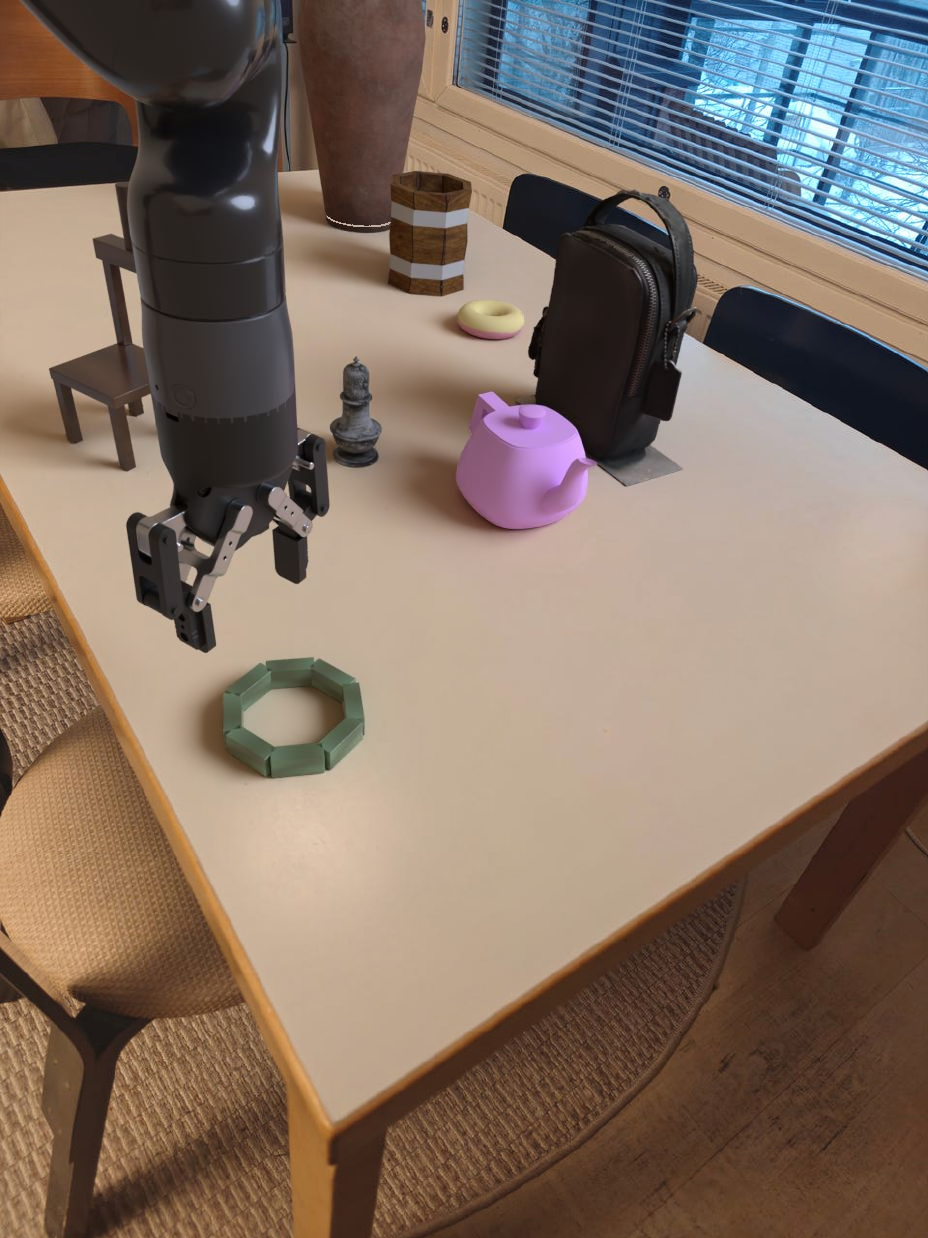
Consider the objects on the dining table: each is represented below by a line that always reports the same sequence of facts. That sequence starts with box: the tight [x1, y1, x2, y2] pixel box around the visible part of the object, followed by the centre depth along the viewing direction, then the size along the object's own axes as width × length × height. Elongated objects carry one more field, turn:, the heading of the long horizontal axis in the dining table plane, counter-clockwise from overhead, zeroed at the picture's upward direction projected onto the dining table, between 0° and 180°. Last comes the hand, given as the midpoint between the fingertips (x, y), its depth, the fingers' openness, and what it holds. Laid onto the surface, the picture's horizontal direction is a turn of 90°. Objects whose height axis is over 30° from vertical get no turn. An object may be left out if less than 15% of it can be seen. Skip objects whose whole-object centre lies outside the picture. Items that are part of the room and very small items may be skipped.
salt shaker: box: [329, 355, 383, 468], centre depth 95 cm, size 6×6×12 cm
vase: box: [296, 0, 427, 234], centre depth 150 cm, size 21×26×45 cm
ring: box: [222, 656, 366, 779], centre depth 67 cm, size 11×11×2 cm
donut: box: [456, 299, 525, 340], centre depth 129 cm, size 10×5×9 cm
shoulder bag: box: [514, 188, 699, 487], centre depth 99 cm, size 23×9×28 cm, turn 33°
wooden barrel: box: [387, 170, 473, 297], centre depth 140 cm, size 20×14×15 cm
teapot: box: [455, 391, 598, 530], centre depth 91 cm, size 13×20×11 cm
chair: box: [48, 181, 151, 472], centre depth 89 cm, size 11×10×26 cm
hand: (247, 609), depth 56 cm, fingers open, 8 cm apart
